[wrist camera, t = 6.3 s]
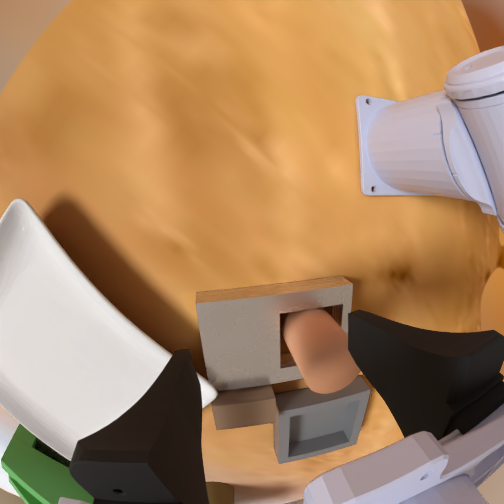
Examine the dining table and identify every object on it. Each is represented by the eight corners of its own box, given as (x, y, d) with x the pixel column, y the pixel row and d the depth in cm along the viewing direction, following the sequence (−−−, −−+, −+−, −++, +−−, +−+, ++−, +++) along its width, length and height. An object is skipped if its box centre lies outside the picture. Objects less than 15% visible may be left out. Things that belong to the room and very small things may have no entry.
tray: (359, 374, 26) (370, 389, 24) (348, 430, 28) (356, 444, 26) (273, 394, 25) (278, 411, 23) (274, 447, 27) (278, 463, 25)
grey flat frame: (341, 275, 23) (353, 284, 21) (335, 356, 25) (344, 369, 23) (196, 292, 21) (195, 303, 19) (209, 376, 23) (210, 391, 21)
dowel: (327, 296, 23) (368, 338, 16) (321, 338, 24) (356, 387, 17) (279, 300, 23) (308, 347, 16) (277, 343, 24) (301, 398, 17)
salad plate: (38, 186, 17) (14, 189, 14) (222, 371, 23) (225, 397, 20) (-38, 333, 18) (-53, 347, 15) (97, 454, 24) (91, 475, 21)
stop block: (266, 372, 24) (275, 398, 21) (267, 396, 25) (275, 422, 22) (209, 379, 23) (211, 406, 20) (214, 403, 24) (216, 430, 21)
